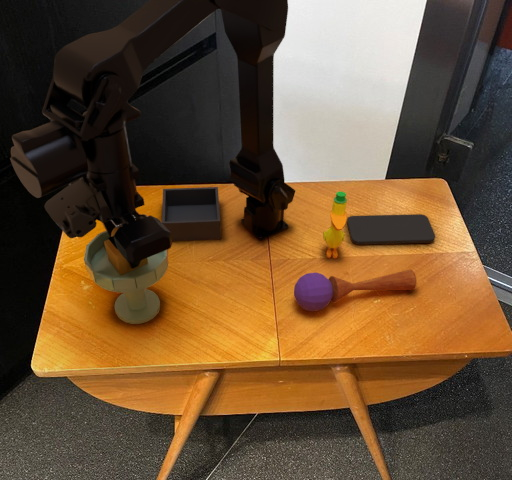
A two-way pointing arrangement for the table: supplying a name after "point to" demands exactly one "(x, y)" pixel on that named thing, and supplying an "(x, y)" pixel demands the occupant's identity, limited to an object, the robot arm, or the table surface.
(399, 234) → the phone
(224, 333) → the table surface
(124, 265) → the orange block
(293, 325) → the table surface
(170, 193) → the bin
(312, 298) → the kendama
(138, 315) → the footed bowl
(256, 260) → the table surface
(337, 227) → the toy figure
